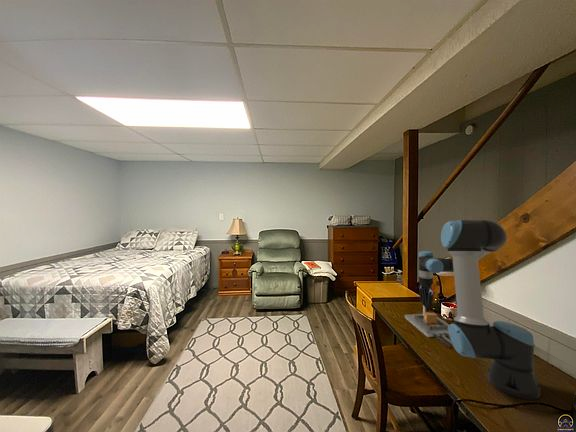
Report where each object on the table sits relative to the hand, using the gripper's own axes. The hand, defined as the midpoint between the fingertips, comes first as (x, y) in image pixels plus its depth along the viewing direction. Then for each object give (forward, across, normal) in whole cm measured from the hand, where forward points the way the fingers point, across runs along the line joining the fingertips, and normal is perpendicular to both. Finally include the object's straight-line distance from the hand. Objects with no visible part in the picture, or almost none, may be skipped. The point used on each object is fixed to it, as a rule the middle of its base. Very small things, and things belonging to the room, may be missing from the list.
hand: (426, 316), depth 149 cm
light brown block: (+2, -4, 0) cm, 4 cm away
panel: (+4, -4, 0) cm, 6 cm away
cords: (+4, -22, +1) cm, 22 cm away
